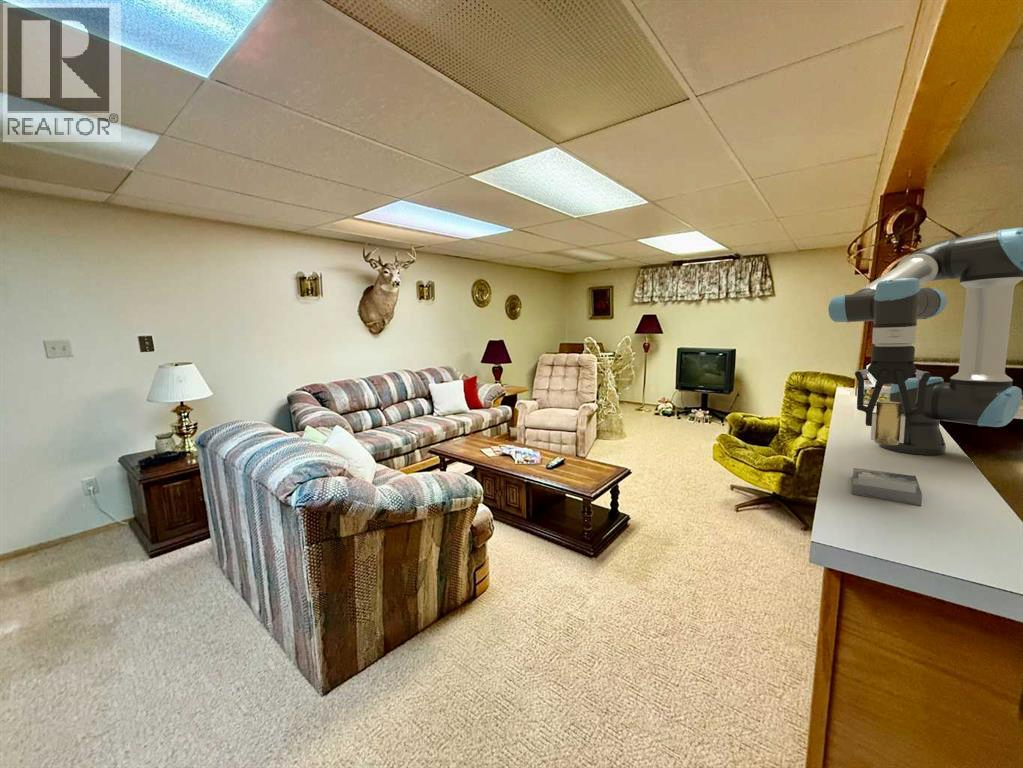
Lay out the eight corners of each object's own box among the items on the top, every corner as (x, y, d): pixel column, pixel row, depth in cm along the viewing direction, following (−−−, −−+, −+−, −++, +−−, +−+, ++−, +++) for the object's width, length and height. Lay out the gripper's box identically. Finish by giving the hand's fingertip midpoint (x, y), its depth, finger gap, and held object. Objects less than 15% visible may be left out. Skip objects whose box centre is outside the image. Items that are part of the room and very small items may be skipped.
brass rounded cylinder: (869, 440, 101) (872, 401, 100) (890, 440, 100) (892, 401, 99) (882, 445, 97) (885, 404, 95) (903, 445, 96) (906, 404, 95)
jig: (852, 476, 109) (853, 459, 109) (915, 485, 101) (916, 467, 101) (852, 494, 99) (853, 475, 98) (921, 505, 91) (922, 485, 90)
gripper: (845, 346, 98) (840, 439, 101) (949, 345, 87) (940, 449, 90) (846, 345, 104) (841, 432, 107) (943, 343, 93) (935, 441, 95)
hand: (886, 440), depth 98 cm, fingers closed on brass rounded cylinder, 4 cm apart
